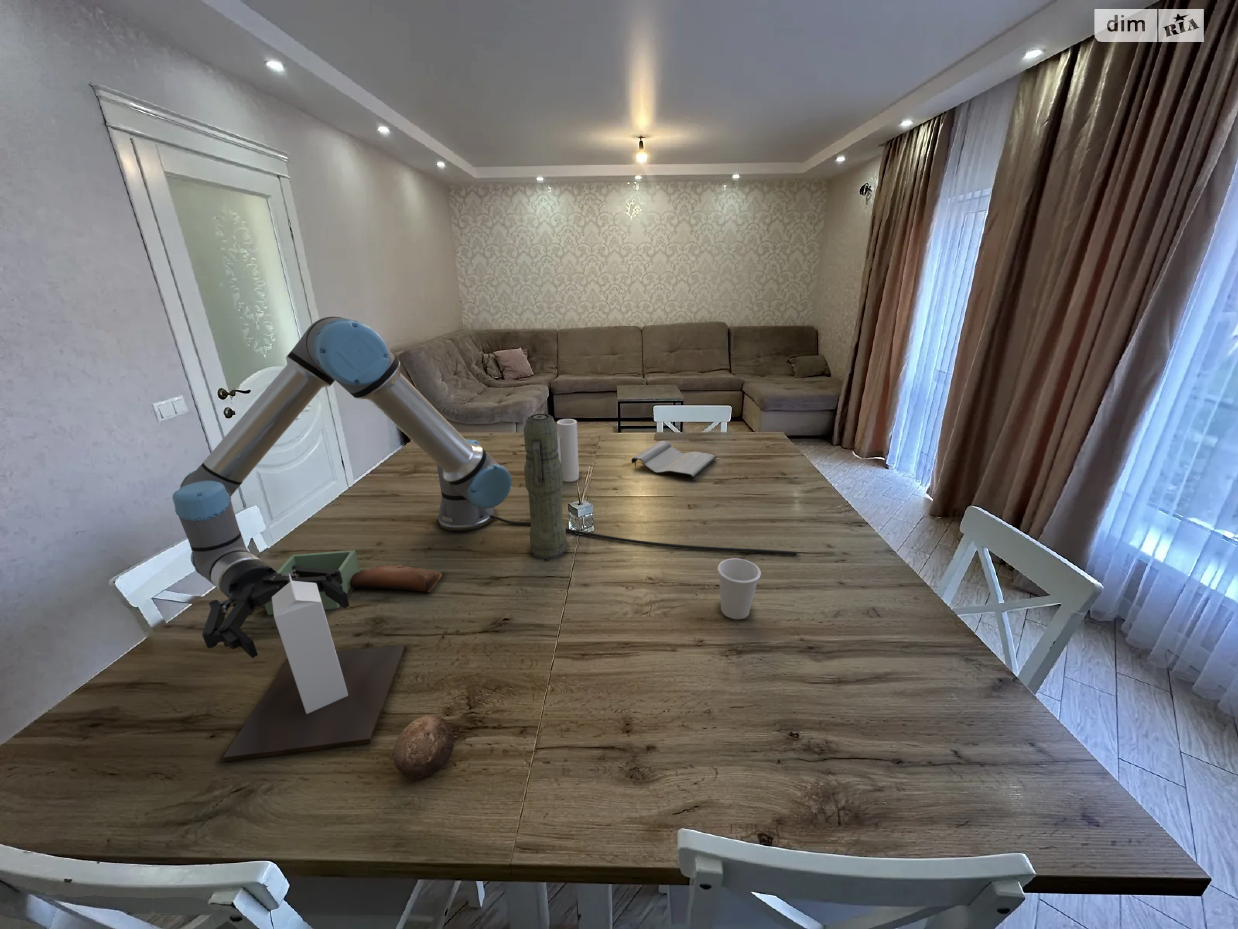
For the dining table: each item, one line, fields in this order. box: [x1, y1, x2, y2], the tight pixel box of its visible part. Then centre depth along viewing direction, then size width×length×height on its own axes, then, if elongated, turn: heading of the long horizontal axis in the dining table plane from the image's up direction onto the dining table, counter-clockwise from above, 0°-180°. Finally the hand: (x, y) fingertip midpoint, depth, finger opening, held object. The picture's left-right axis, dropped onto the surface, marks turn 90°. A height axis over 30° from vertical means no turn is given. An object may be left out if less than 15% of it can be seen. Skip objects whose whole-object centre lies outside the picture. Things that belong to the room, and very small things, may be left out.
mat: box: [631, 440, 718, 479], centre depth 175 cm, size 23×24×5 cm
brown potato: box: [392, 714, 455, 780], centre depth 69 cm, size 8×8×6 cm
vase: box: [556, 418, 580, 483], centre depth 161 cm, size 11×7×20 cm, turn 93°
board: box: [222, 643, 406, 763], centre depth 80 cm, size 20×20×1 cm
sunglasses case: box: [350, 564, 443, 593], centre depth 109 cm, size 18×7×7 cm
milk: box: [272, 573, 348, 714], centre depth 76 cm, size 6×6×22 cm
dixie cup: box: [717, 557, 762, 620], centre depth 98 cm, size 8×8×10 cm
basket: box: [263, 549, 361, 616], centre depth 106 cm, size 14×14×6 cm
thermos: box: [523, 413, 567, 560], centre depth 116 cm, size 9×12×35 cm
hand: (302, 623), depth 76 cm, fingers open, 13 cm apart
